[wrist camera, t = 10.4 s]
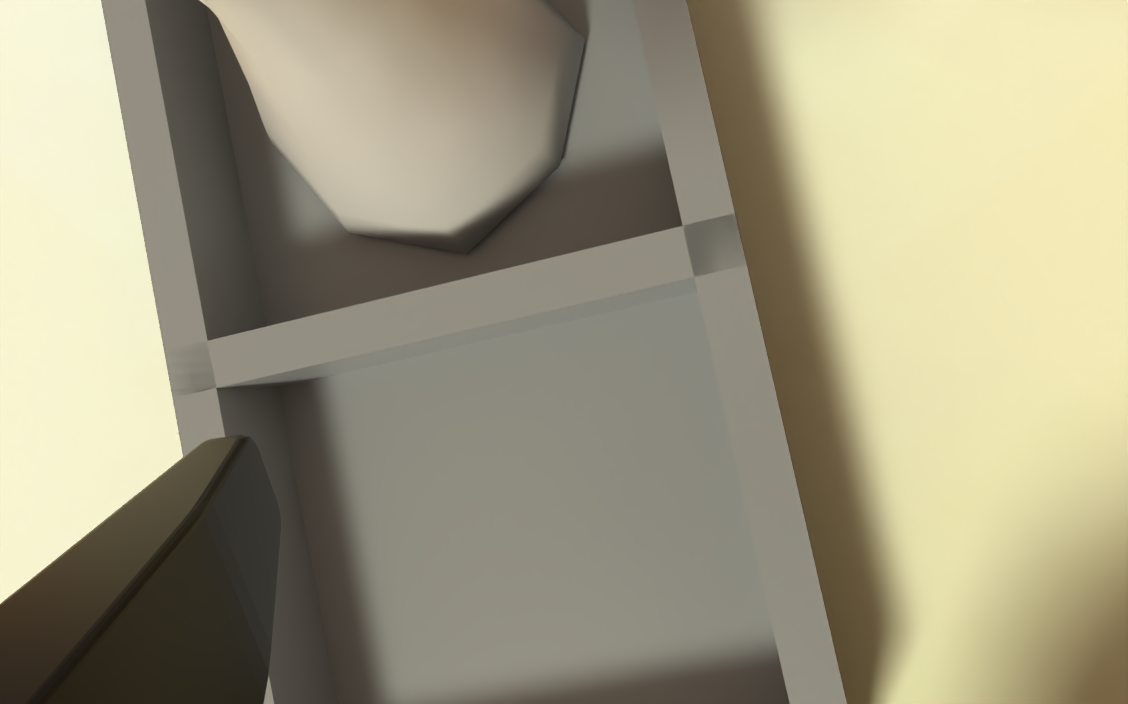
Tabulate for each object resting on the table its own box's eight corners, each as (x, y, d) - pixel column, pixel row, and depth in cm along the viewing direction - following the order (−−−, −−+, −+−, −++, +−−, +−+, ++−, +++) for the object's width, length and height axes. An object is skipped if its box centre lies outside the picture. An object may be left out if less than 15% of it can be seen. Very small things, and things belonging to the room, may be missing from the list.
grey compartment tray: (856, 780, 20) (882, 861, 17) (341, 852, 22) (270, 938, 19) (630, -214, 22) (611, -327, 18) (170, -66, 24) (75, -143, 20)
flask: (483, 309, 21) (270, 242, 11) (229, 163, 22) (-163, -12, 13) (641, 25, 21) (563, -301, 11) (374, -108, 22) (86, -509, 12)
